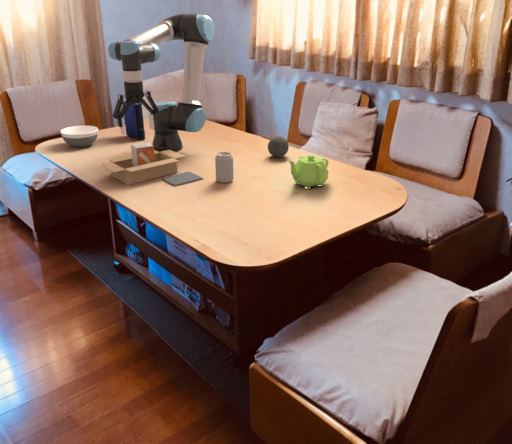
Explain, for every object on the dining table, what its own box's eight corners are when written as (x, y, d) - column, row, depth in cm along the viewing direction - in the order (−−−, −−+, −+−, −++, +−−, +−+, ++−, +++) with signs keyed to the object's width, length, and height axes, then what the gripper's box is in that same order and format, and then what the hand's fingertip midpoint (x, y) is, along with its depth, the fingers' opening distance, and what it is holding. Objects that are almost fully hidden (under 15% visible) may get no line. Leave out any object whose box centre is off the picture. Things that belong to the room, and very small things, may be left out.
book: (147, 139, 285) (143, 102, 276) (138, 141, 281) (134, 103, 273) (133, 134, 294) (129, 98, 286) (124, 136, 291) (120, 99, 283)
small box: (138, 177, 230) (136, 148, 224) (133, 173, 235) (130, 144, 229) (156, 174, 234) (153, 145, 229) (150, 170, 239) (148, 142, 233)
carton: (166, 160, 252) (165, 147, 249) (190, 171, 237) (189, 158, 234) (97, 175, 232) (95, 162, 229) (119, 189, 217) (118, 174, 214)
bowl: (107, 143, 277) (106, 128, 274) (79, 152, 263) (77, 136, 260) (83, 138, 287) (81, 123, 283) (54, 147, 272) (52, 131, 269)
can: (236, 178, 228) (235, 151, 223) (229, 184, 222) (229, 157, 217) (220, 177, 231) (219, 150, 226) (213, 182, 224) (212, 155, 219)
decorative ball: (277, 161, 251) (277, 140, 247) (263, 156, 258) (263, 136, 253) (292, 157, 257) (293, 136, 253) (278, 152, 264) (278, 132, 259)
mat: (189, 172, 236) (188, 171, 235) (203, 179, 228) (203, 177, 228) (161, 179, 228) (161, 178, 227) (174, 186, 220) (174, 185, 220)
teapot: (319, 194, 212) (321, 164, 207) (286, 189, 217) (287, 159, 212) (331, 181, 226) (333, 152, 221) (299, 176, 231) (300, 148, 226)
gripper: (155, 76, 227) (159, 125, 236) (100, 82, 213) (106, 134, 222) (164, 78, 222) (167, 128, 231) (108, 85, 208) (114, 138, 217)
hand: (137, 131), depth 226 cm, fingers open, 13 cm apart
